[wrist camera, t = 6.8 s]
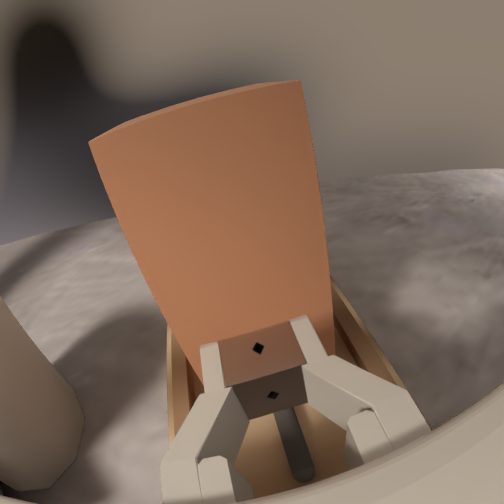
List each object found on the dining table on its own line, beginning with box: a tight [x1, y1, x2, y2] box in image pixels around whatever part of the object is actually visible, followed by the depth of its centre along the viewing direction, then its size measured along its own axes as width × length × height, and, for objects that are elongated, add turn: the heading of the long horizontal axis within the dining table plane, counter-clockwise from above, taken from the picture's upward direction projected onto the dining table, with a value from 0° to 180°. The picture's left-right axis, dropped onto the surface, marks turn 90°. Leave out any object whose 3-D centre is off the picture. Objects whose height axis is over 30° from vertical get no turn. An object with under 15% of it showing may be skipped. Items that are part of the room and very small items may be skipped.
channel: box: [167, 276, 432, 499], centre depth 19 cm, size 27×11×8 cm, turn 11°
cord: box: [273, 407, 316, 483], centre depth 19 cm, size 24×1×1 cm, turn 11°
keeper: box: [89, 80, 336, 386], centre depth 12 cm, size 5×6×12 cm
